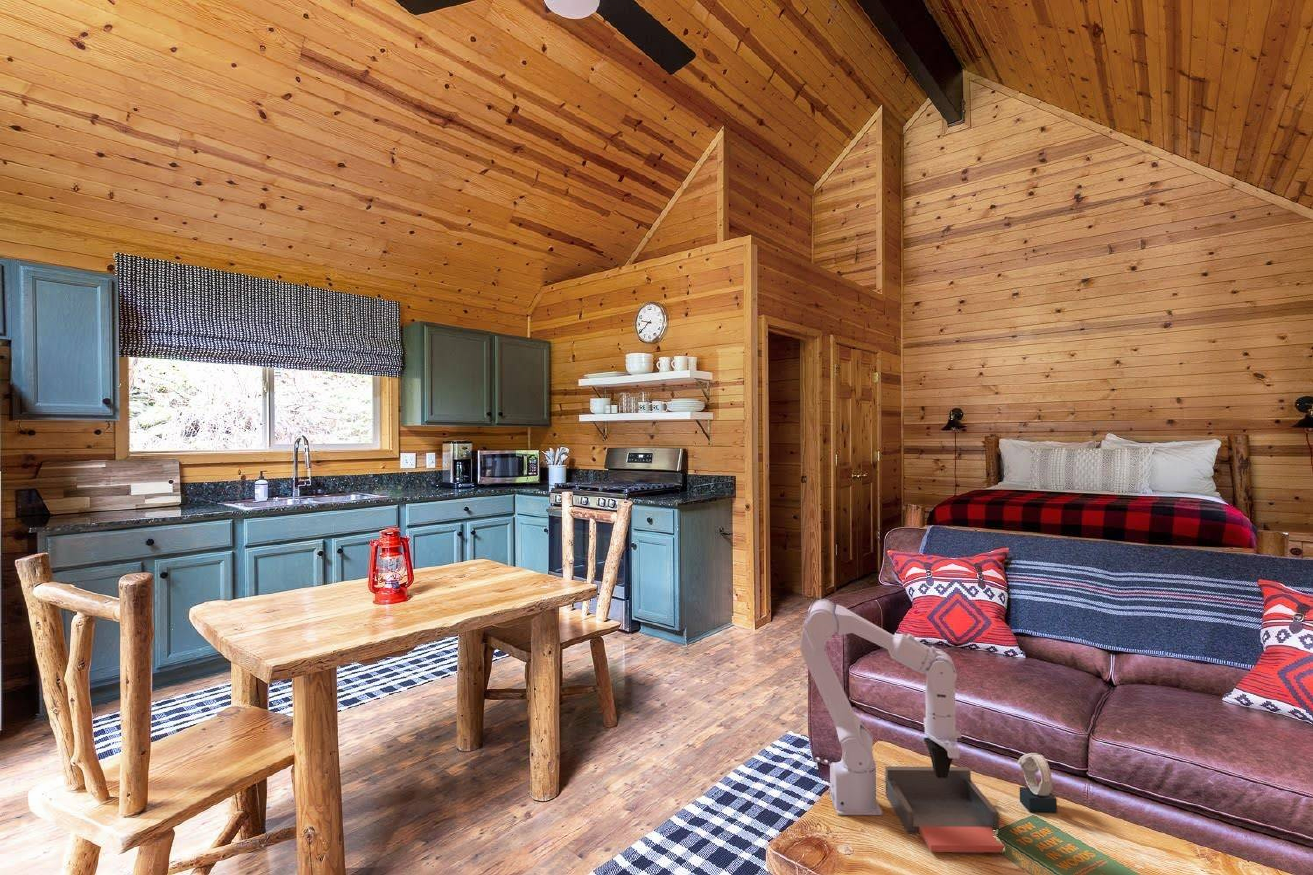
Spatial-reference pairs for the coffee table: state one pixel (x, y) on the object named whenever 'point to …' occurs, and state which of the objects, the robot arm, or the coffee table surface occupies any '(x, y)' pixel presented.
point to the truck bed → (937, 799)
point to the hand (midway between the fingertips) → (940, 776)
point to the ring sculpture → (1034, 794)
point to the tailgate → (960, 839)
